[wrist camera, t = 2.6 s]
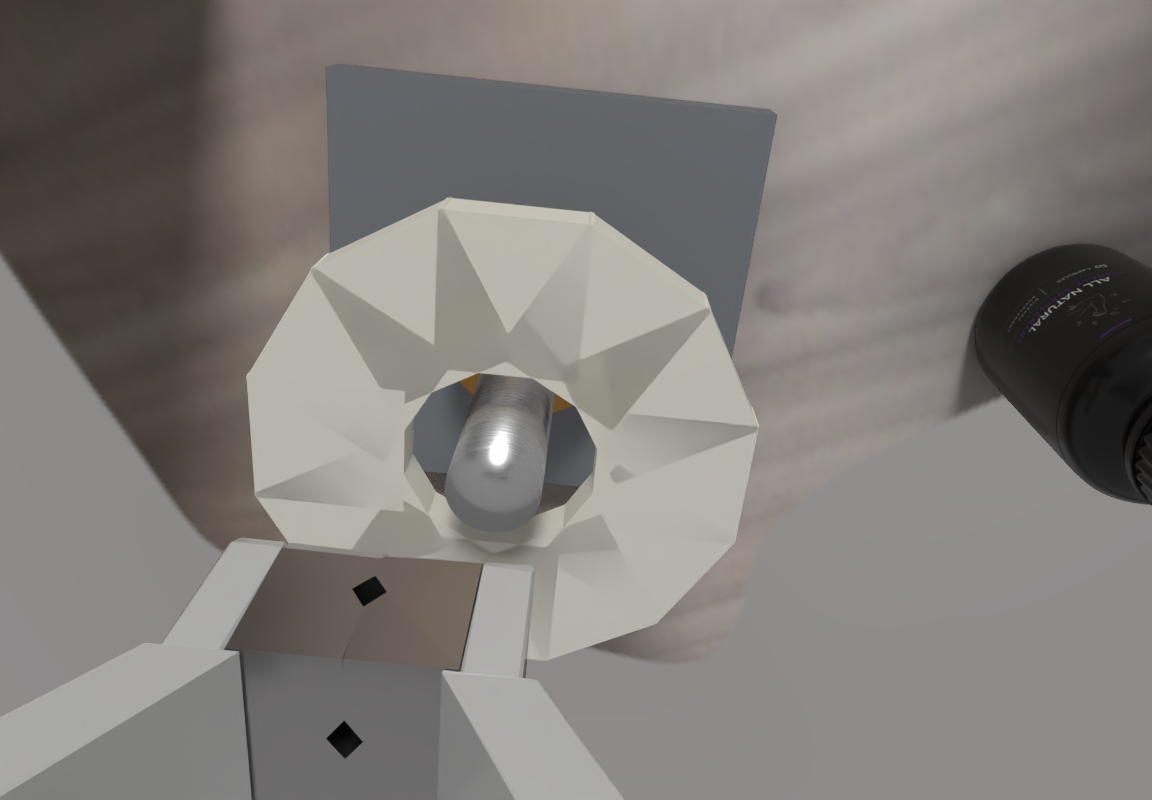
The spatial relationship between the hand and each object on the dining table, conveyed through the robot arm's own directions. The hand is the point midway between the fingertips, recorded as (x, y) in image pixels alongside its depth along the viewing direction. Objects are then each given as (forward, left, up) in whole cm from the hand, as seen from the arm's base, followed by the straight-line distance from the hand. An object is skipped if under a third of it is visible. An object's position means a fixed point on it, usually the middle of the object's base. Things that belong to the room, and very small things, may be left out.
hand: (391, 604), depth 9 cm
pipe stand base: (0, +5, -27) cm, 27 cm away
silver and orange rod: (0, +5, -25) cm, 26 cm away
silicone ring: (0, +6, -14) cm, 15 cm away
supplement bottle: (-21, +4, -27) cm, 34 cm away
